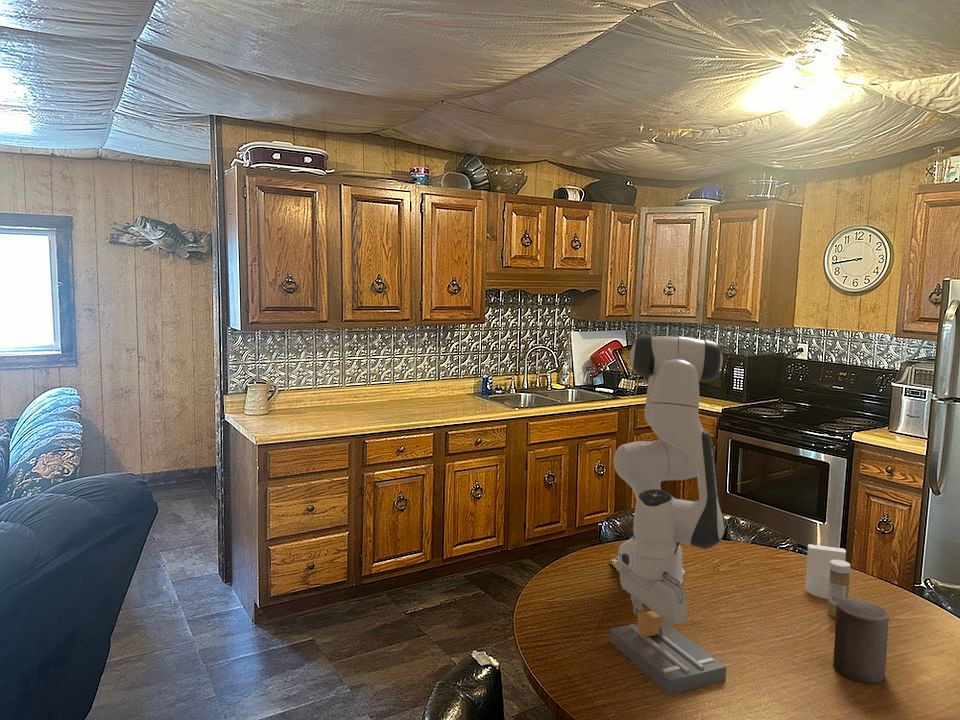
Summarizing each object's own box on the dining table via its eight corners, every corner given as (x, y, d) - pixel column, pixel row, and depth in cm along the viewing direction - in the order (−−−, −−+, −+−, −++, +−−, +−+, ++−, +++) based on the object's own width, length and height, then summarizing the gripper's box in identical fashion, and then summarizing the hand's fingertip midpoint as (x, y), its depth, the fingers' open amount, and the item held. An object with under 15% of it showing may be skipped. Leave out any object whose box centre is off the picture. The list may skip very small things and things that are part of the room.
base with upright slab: (806, 595, 177) (809, 551, 176) (804, 582, 185) (806, 540, 184) (845, 601, 174) (848, 556, 172) (841, 587, 182) (843, 544, 181)
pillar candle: (826, 671, 141) (830, 602, 140) (840, 653, 148) (844, 588, 147) (879, 689, 135) (883, 618, 133) (890, 669, 142) (895, 601, 140)
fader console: (608, 641, 153) (609, 626, 153) (660, 630, 158) (660, 616, 158) (669, 695, 133) (669, 677, 132) (725, 680, 138) (726, 663, 137)
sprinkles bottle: (851, 616, 166) (854, 563, 164) (841, 621, 163) (844, 567, 162) (833, 608, 169) (836, 557, 168) (823, 613, 167) (826, 561, 166)
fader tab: (637, 633, 150) (638, 613, 150) (656, 630, 152) (656, 609, 151) (645, 640, 147) (646, 619, 147) (664, 636, 149) (665, 615, 149)
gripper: (695, 581, 140) (693, 644, 141) (638, 546, 159) (637, 603, 160) (670, 586, 137) (668, 650, 139) (615, 550, 156) (614, 607, 158)
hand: (651, 624), depth 149 cm, fingers open, 8 cm apart
